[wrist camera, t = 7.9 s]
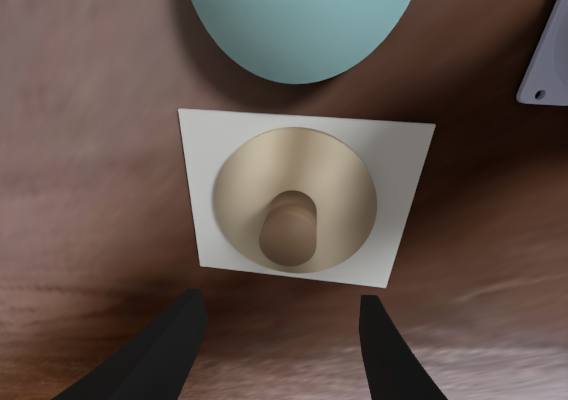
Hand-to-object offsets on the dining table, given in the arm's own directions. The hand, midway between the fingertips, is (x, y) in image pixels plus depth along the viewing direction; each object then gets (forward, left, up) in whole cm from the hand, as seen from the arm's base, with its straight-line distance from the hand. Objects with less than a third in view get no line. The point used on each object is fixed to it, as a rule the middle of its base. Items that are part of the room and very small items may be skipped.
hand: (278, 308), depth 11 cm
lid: (0, 0, -10) cm, 10 cm away
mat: (0, 0, -10) cm, 10 cm away
